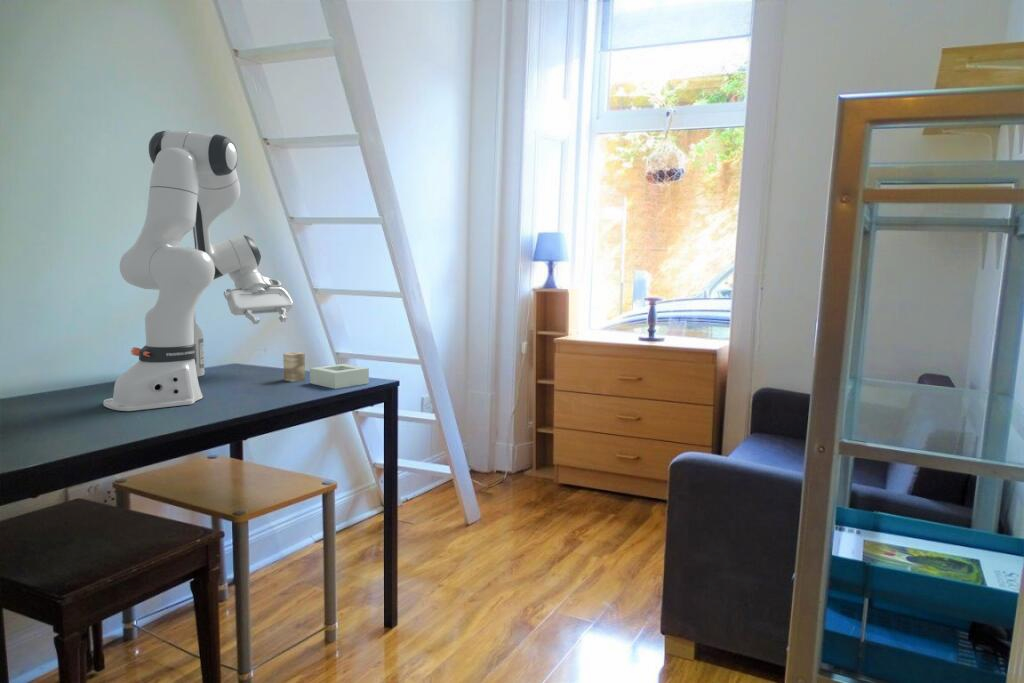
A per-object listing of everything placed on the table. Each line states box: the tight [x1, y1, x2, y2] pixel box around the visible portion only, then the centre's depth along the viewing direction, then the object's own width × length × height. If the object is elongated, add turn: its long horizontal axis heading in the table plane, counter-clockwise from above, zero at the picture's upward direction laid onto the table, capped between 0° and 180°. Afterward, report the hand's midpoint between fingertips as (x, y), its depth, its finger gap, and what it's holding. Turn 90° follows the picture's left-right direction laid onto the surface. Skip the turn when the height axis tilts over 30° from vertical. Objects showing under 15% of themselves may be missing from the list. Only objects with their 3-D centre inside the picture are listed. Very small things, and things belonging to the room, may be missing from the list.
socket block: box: [309, 363, 370, 390], centre depth 208 cm, size 12×12×4 cm
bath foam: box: [194, 311, 205, 378], centre depth 215 cm, size 7×7×20 cm
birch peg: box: [283, 351, 306, 383], centre depth 212 cm, size 4×4×8 cm
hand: (270, 321), depth 219 cm, fingers open, 8 cm apart
